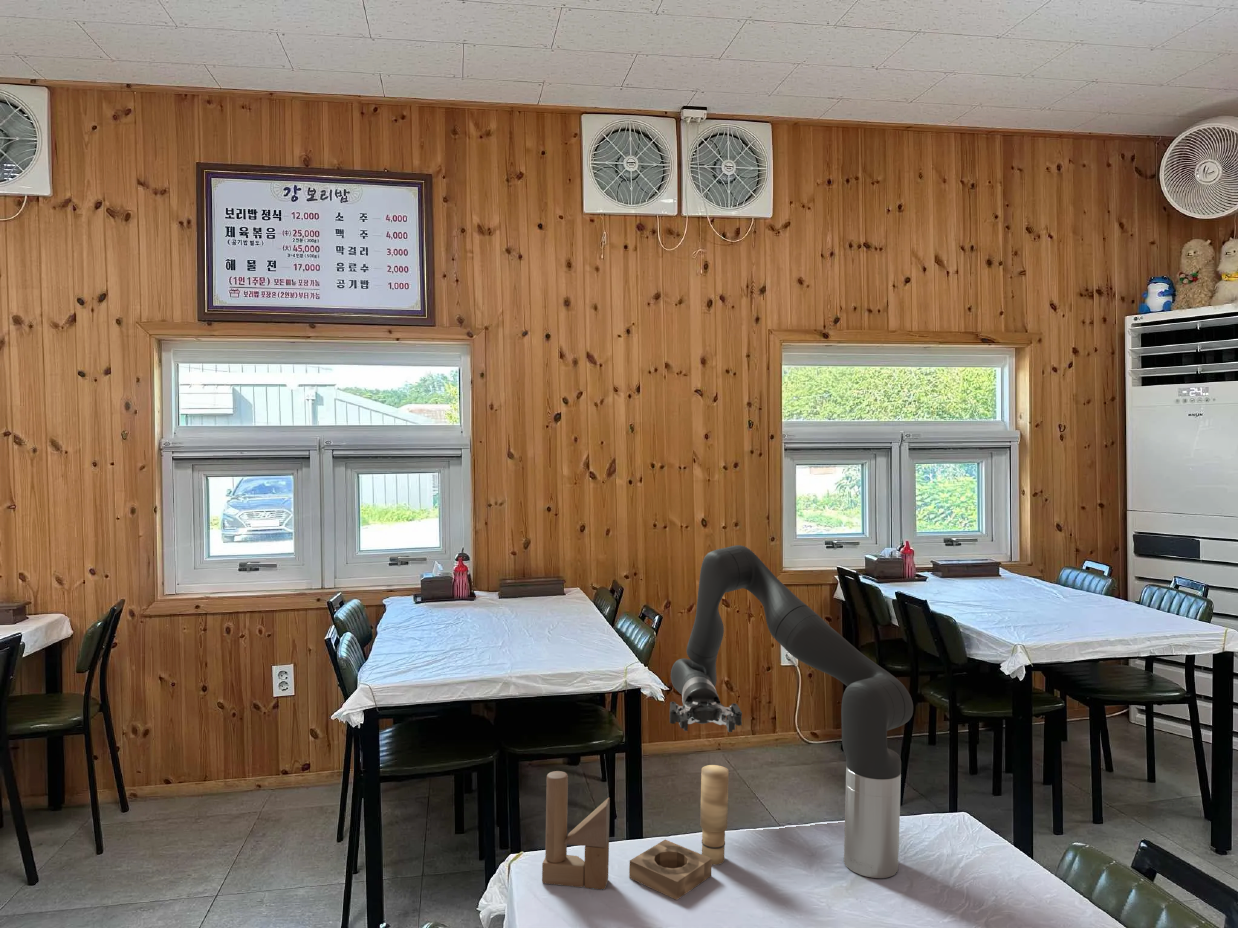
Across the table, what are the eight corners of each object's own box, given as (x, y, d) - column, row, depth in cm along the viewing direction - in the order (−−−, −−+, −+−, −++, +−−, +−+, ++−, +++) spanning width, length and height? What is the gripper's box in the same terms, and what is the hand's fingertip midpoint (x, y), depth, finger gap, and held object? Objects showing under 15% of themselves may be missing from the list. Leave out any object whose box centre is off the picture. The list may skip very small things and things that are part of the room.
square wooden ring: (664, 855, 147) (665, 839, 147) (711, 875, 141) (711, 858, 141) (629, 877, 140) (629, 860, 140) (676, 899, 133) (677, 881, 133)
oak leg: (709, 849, 150) (711, 762, 150) (731, 858, 147) (733, 769, 146) (694, 859, 146) (696, 770, 146) (716, 868, 143) (718, 778, 143)
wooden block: (604, 890, 136) (606, 783, 135) (541, 884, 137) (543, 777, 137) (608, 879, 139) (610, 774, 139) (546, 872, 141) (548, 769, 140)
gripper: (667, 680, 173) (671, 706, 157) (734, 682, 173) (746, 708, 157) (666, 715, 174) (670, 744, 157) (733, 717, 174) (745, 746, 157)
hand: (708, 726), depth 157 cm, fingers open, 8 cm apart
